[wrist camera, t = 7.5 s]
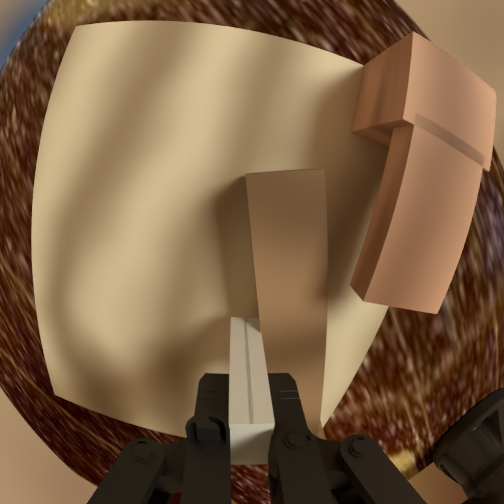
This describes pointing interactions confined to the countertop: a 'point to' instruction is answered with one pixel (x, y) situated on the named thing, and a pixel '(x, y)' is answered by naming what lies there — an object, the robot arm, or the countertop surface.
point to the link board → (236, 199)
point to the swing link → (292, 277)
